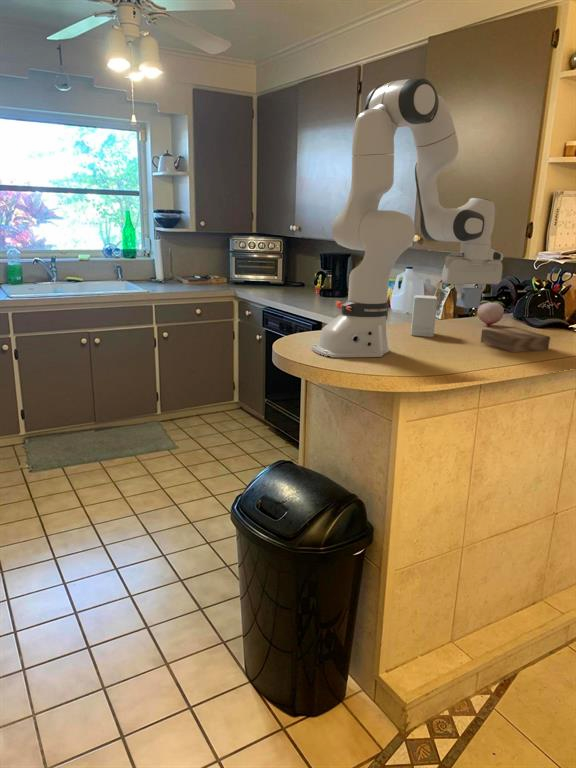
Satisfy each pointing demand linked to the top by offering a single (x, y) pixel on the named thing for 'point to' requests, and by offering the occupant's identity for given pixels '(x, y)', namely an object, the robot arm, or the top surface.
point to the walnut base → (515, 339)
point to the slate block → (470, 297)
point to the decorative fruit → (490, 312)
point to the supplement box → (423, 315)
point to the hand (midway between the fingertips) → (468, 298)
